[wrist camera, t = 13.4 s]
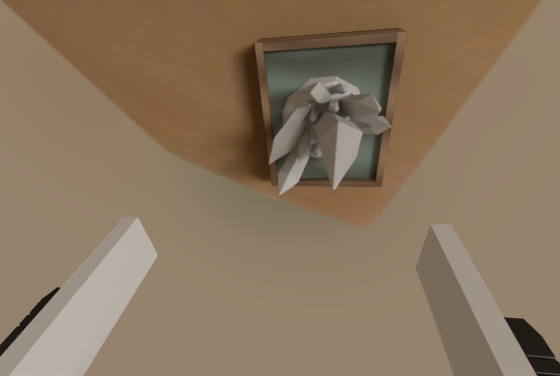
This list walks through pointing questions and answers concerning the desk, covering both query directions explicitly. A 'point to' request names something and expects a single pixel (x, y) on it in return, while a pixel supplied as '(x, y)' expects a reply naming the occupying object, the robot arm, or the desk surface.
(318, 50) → the wooden tray
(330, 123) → the crystal
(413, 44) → the desk surface
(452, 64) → the desk surface
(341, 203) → the desk surface
